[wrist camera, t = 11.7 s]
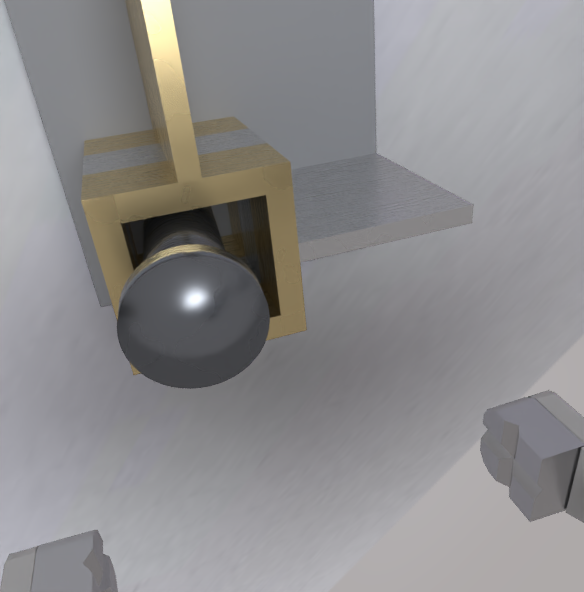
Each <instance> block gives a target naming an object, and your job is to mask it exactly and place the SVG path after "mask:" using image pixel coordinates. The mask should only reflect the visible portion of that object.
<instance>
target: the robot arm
mask: <svg viewBox="0 0 584 592" xmlns="http://www.w3.org/2000/svg"><path fill="white" fill-rule="evenodd" d="M483 424H484V425H485V426H486V428H487V429H488V430H487V431H486V432H485V434H484V435H483V436H482V438H481V448H480V451H481V454H482V458H483V462H484V464H485V466H486V467H487V469H488V471H489V473H490V474H491V475H492V476H493V478H494V479H495V480H496V481H498V482H500V483H502V484H504V485H507V486H509V497H510V499H511V500H512V501H513V502H514V503H515V505H516V506H517V507H518V508H519V509H520V511H521V512H522V513H523V514H524V515H525V516H526V518H527V519H528V520H529V521H530V522H531V521H534V520H537V519H540V518H543V517H546V516H550V515H552V514H556V513H559V512H562V511H565V510H566V513H568V514H569V515H571V516H573V517H575V518H576V519H578V520H580V521H582V522H584V417H583V416H582V415H581V414H579V413H578V412H577V411H576V410H575V409H574V408H572V407H571V406H570V405H569V404H568V403H566V401H564V400H563V399H562V398H561V397H560V396H559V395H557V394H556V393H554V392H552V391H549V390H548V391H545V392H541V393H539V394H535V395H532V396H529V397H524V398H521V399H518V400H515V401H512V402H509V403H505V404H502V405H499V406H496V407H493V408H490V409H487V411H486V412H485V413H484V417H483ZM0 592H118V588H117V581H116V575H115V571H114V568H113V564H112V562H111V559H110V557H109V556H108V555H105V554H103V540H102V538H101V536H100V534H99V532H98V530H92V531H89V532H85V533H81V534H78V535H74V536H71V537H67V538H64V539H60V540H56V541H53V542H49V543H46V544H42V545H39V546H36V547H33V548H29V549H26V550H22V551H19V552H15V553H12V554H9V556H8V558H7V560H6V562H5V564H4V569H3V575H2V581H1V586H0Z"/></svg>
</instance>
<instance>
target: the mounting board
mask: <svg viewBox="0 0 584 592" xmlns="http://www.w3.org/2000/svg"><path fill="white" fill-rule="evenodd" d="M4 1H5V5H6V8H7V11H8V14H9V17H10V21H11V24H12V27H13V30H14V33H15V36H16V40H17V43H18V46H19V49H20V52H21V55H22V59H23V62H24V65H25V68H26V71H27V74H28V78H29V81H30V84H31V87H32V90H33V94H34V97H35V100H36V103H37V106H38V109H39V113H40V116H41V119H42V122H43V125H44V128H45V132H46V135H47V138H48V141H49V144H50V147H51V151H52V154H53V157H54V160H55V163H56V167H57V170H58V173H59V176H60V179H61V182H62V186H63V189H64V192H65V195H66V198H67V201H68V205H69V208H70V211H71V214H72V217H73V220H74V224H75V227H76V230H77V233H78V236H79V240H80V243H81V246H82V249H83V252H84V255H85V259H86V262H87V265H88V268H89V271H90V274H91V278H92V281H93V284H94V287H95V290H96V293H97V297H98V300H99V303H100V306H101V307H104V306H108V305H112V302H111V299H110V295H109V292H108V289H107V285H106V282H105V279H104V275H103V272H102V269H101V265H100V262H99V259H98V255H97V252H96V249H95V246H94V242H93V239H92V236H91V232H90V229H89V226H88V222H87V219H86V216H85V212H84V209H83V206H82V202H81V192H82V175H83V158H84V141H85V140H90V139H96V138H102V137H109V136H115V135H121V134H127V133H133V132H139V131H146V130H152V129H153V128H152V123H151V118H150V114H149V109H148V105H147V100H146V95H145V91H144V86H143V82H142V77H141V72H140V68H139V63H138V59H137V54H136V49H135V45H134V40H133V36H132V31H131V26H130V22H129V17H128V13H127V8H126V3H125V0H4ZM170 4H171V9H172V15H173V20H174V26H175V31H176V37H177V42H178V48H179V53H180V59H181V64H182V70H183V75H184V81H185V86H186V92H187V97H188V103H189V108H190V114H191V120H192V123H195V122H201V121H207V120H213V119H219V118H226V117H232V116H234V117H235V118H237V119H238V120H239V121H240V122H242V123H243V124H244V125H245V126H247V127H248V128H249V129H250V130H252V131H253V132H254V133H255V134H257V135H258V136H259V137H260V138H262V139H263V140H264V141H265V142H267V143H268V144H269V145H270V146H271V147H273V148H274V149H275V150H276V151H278V152H279V153H280V154H281V155H283V156H284V157H285V158H286V159H288V160H289V161H290V162H291V169H294V168H300V167H305V166H310V165H316V164H321V163H326V162H331V161H337V160H342V159H347V158H353V157H358V156H363V155H368V154H374V153H376V100H375V38H374V0H170ZM211 208H212V211H213V214H214V217H215V220H216V223H217V226H218V229H219V232H220V236H221V237H222V236H227V235H231V234H232V231H231V224H230V218H229V212H228V206H227V203H223V204H218V205H213V206H211ZM129 223H130V227H131V231H132V235H133V239H134V242H135V246H136V250H137V254H142V253H143V242H144V219H142V220H137V221H132V222H129Z"/></svg>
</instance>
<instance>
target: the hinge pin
mask: <svg viewBox="0 0 584 592" xmlns="http://www.w3.org/2000/svg"><path fill="white" fill-rule="evenodd" d="M269 324H270V315H269V308H268V304H267V301H266V299H265V296H264V293H263V291H262V289H261V286H260V284H259V281H258V279H257V278H256V276H255V274H254V273H253V271H252V270H251V269H250V268H249V266H247V265H246V264H245V263H244V262H243V261H242V260H241V259H239V258H238V257H237V256H235V255H233V254H231V253H230V252H228V251H225V248H224V245H223V242H222V239H221V236H220V232H219V229H218V226H217V223H216V220H215V217H214V214H213V211H212V208H211V206H208V207H202V208H197V209H192V210H187V211H182V212H177V213H172V214H167V215H162V216H157V217H152V218H147V219H144V242H143V262H142V263H141V264H140V265H139V266H138V267H137V268H136V269H135V270H134V271H133V273H132V274H131V275H130V276H129V278H128V280H127V281H126V283H125V285H124V287H123V290H122V292H121V296H120V300H119V309H118V321H117V333H118V339H119V343H120V346H121V348H122V351H123V353H124V354H125V356H126V358H127V359H128V360H129V362H130V363H131V364H132V365H133V366H134V367H135V368H136V369H137V370H138V371H139V372H140V373H142V374H143V375H145V376H146V377H148V378H150V379H152V380H153V381H156V382H158V383H161V384H163V385H167V386H171V387H177V388H201V387H207V386H212V385H215V384H219V383H221V382H224V381H226V380H228V379H230V378H232V377H234V376H236V375H237V374H239V373H240V372H241V371H243V370H244V369H245V368H246V367H248V366H249V365H250V364H251V363H252V362H253V360H254V359H255V358H256V357H257V355H258V354H259V353H260V351H261V349H262V348H263V346H264V344H265V341H266V339H267V336H268V331H269Z"/></svg>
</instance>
